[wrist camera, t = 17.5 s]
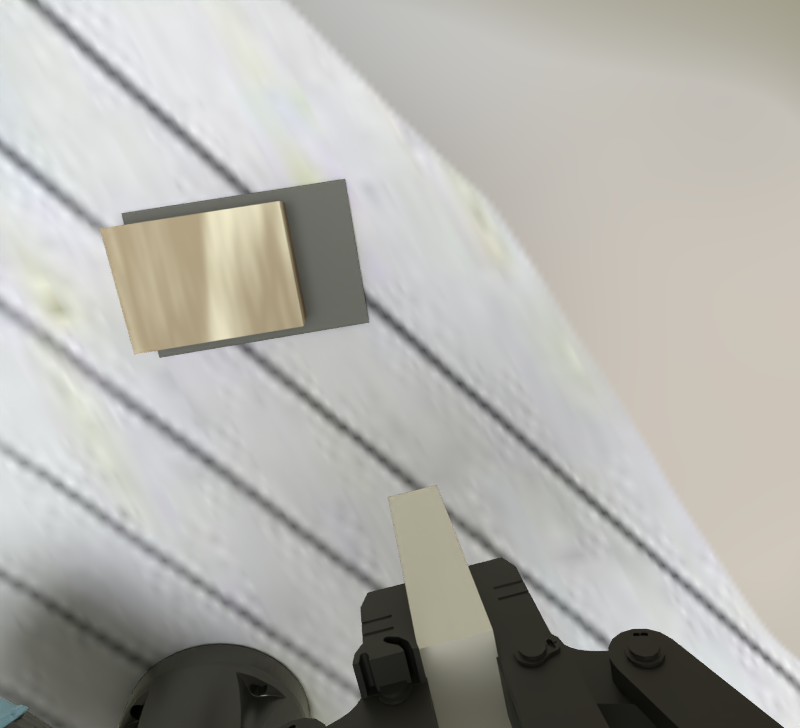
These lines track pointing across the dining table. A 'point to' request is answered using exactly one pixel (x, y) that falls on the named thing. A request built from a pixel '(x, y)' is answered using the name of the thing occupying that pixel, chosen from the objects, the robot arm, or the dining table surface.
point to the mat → (298, 255)
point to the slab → (206, 276)
